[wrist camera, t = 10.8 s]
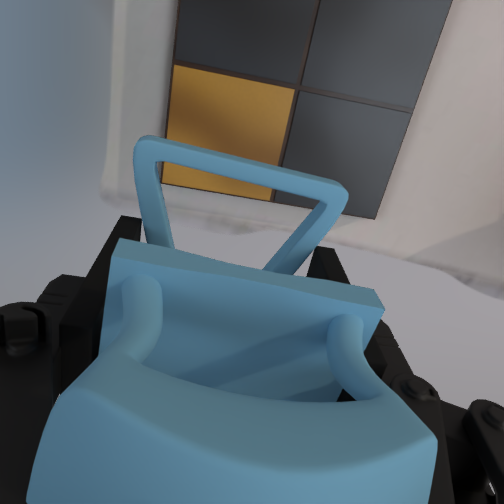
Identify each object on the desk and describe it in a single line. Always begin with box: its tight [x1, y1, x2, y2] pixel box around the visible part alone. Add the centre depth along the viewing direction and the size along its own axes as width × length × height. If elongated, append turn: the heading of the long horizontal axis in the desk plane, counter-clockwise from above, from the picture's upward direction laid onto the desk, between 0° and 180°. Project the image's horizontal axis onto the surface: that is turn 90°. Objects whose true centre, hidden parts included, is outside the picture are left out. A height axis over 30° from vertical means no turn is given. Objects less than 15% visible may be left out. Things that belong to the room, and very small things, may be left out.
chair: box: [26, 135, 438, 504], centre depth 12 cm, size 8×8×12 cm
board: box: [160, 0, 453, 220], centre depth 35 cm, size 20×20×1 cm
